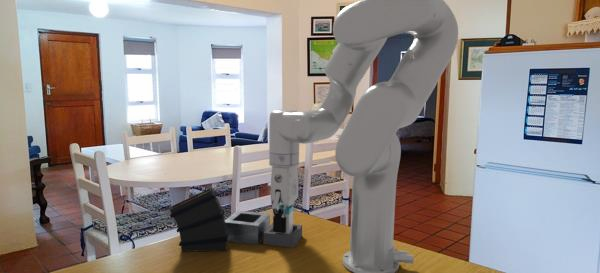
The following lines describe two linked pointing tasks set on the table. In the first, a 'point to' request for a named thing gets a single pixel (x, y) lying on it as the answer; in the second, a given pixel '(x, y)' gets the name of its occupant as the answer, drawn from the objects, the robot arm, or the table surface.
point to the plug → (288, 219)
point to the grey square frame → (283, 237)
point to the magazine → (201, 223)
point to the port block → (247, 227)
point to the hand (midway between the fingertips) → (283, 226)
